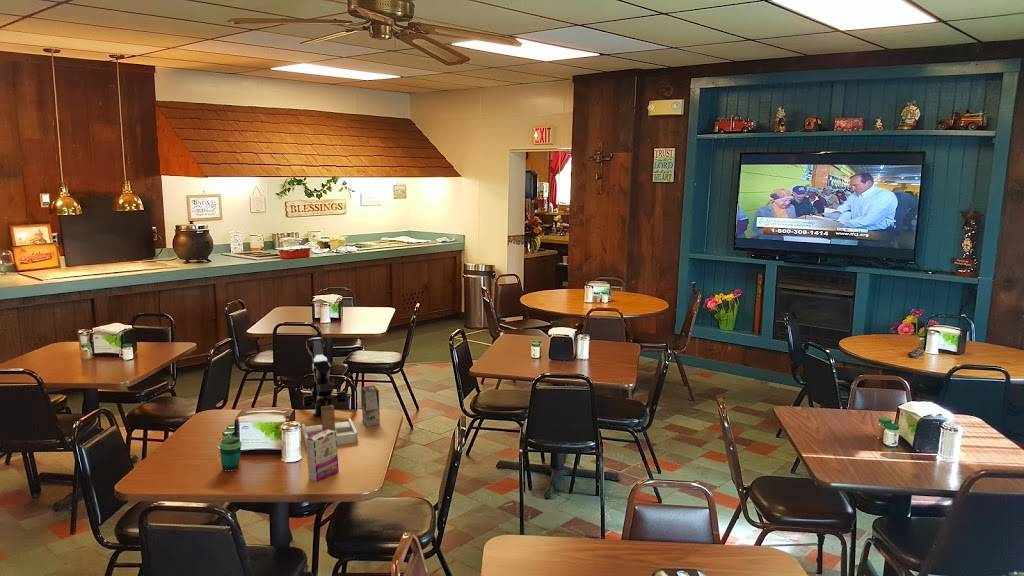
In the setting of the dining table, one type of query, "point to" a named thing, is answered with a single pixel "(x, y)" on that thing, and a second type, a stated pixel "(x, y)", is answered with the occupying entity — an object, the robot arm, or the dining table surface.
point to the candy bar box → (322, 455)
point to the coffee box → (370, 405)
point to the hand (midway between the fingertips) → (327, 415)
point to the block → (328, 417)
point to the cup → (230, 453)
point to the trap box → (343, 432)
